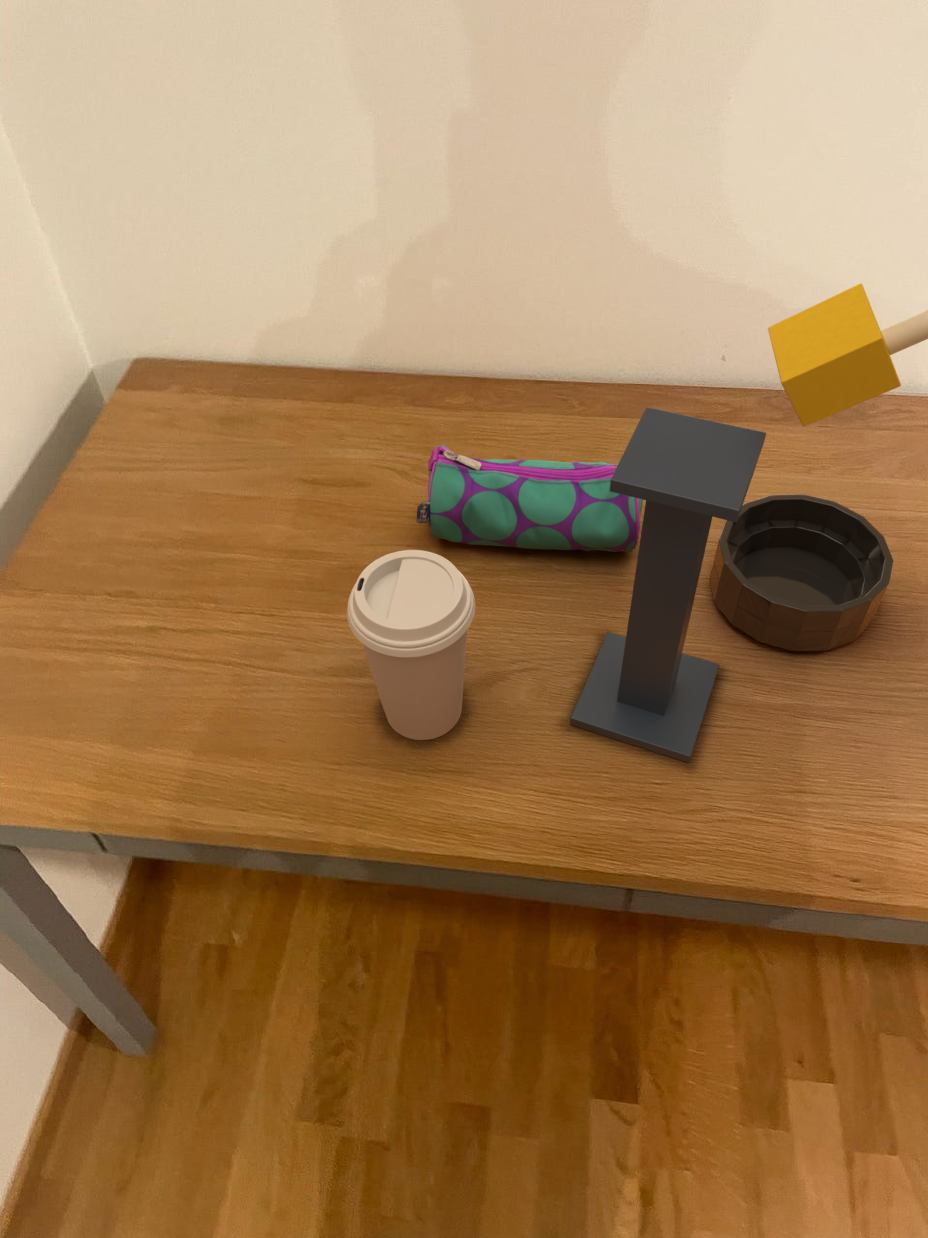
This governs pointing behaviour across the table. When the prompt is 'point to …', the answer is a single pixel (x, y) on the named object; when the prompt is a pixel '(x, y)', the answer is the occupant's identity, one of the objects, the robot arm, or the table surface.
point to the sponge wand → (839, 354)
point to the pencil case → (528, 504)
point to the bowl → (800, 572)
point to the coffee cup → (414, 638)
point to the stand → (667, 580)
